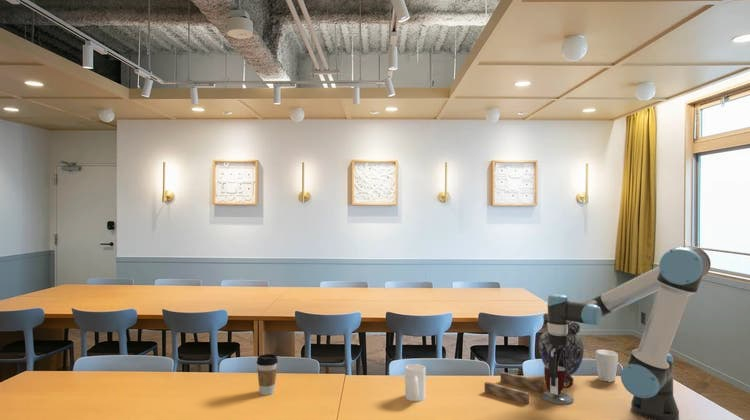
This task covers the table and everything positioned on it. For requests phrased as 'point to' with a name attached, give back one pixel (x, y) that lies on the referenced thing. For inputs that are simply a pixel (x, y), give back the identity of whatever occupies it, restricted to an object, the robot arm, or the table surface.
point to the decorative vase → (572, 348)
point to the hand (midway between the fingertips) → (557, 390)
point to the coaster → (558, 398)
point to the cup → (606, 364)
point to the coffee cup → (267, 373)
